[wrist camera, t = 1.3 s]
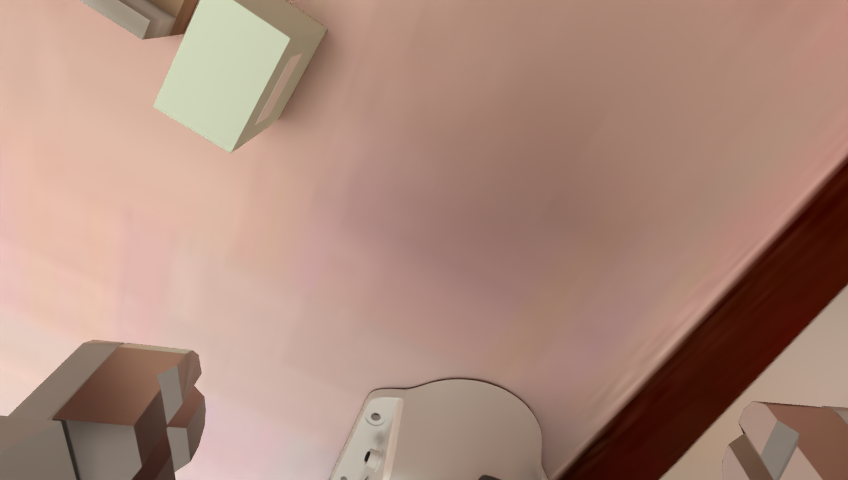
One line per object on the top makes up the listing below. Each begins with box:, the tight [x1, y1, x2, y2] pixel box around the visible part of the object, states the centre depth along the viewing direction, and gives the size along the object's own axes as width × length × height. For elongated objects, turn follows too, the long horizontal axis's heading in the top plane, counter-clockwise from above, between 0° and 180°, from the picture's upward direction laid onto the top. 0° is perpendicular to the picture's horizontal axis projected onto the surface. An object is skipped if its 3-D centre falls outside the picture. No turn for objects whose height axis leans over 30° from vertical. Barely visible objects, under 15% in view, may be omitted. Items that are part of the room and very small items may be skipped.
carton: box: [153, 0, 327, 153], centre depth 32 cm, size 5×7×9 cm, turn 147°
